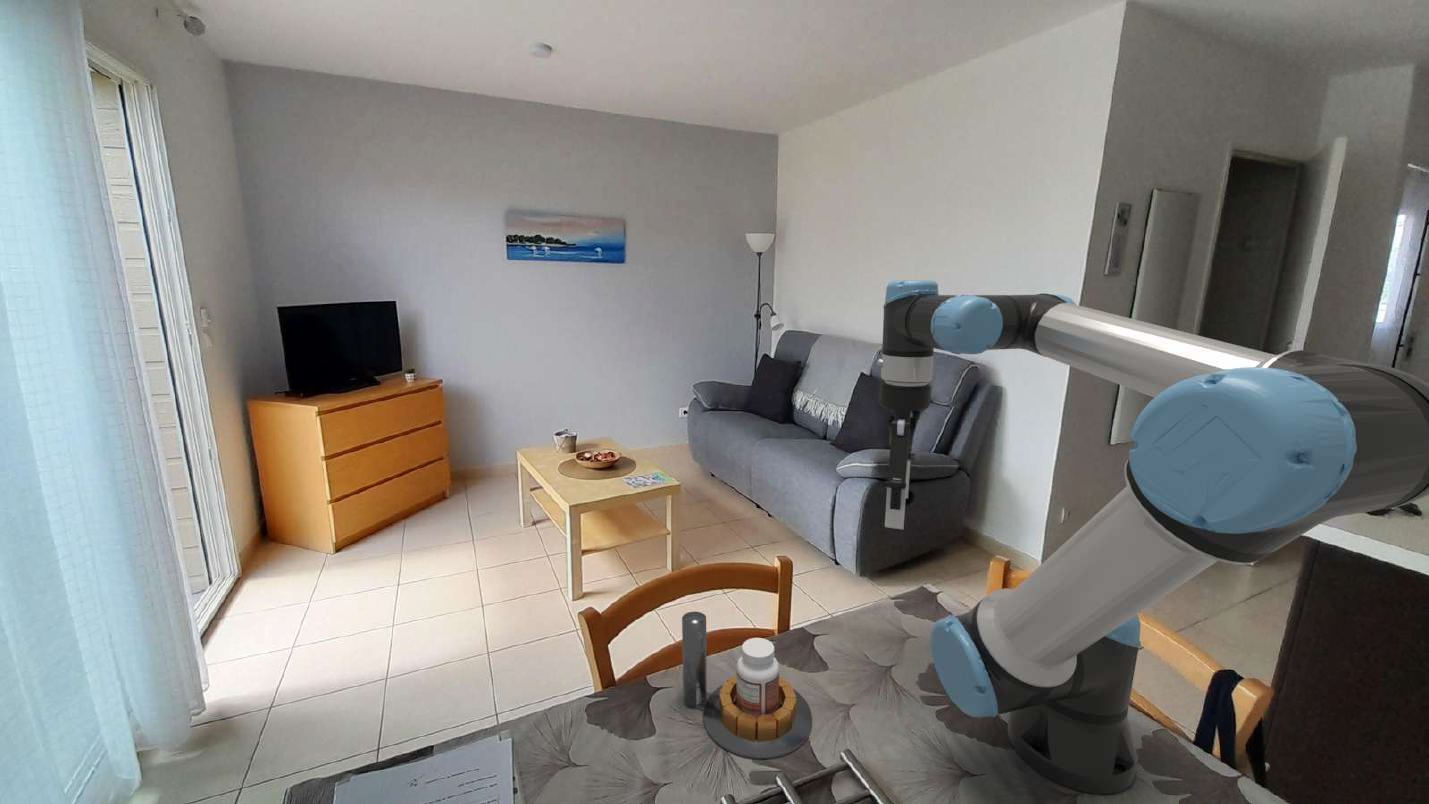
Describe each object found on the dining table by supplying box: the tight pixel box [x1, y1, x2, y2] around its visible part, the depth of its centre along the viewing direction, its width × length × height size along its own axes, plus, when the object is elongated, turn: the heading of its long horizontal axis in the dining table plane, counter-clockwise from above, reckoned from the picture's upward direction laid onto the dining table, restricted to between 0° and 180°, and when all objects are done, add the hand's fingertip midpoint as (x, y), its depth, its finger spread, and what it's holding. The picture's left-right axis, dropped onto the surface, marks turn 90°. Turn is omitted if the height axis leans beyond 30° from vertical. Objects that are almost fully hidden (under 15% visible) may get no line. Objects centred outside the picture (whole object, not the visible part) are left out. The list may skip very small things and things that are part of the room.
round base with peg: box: [681, 611, 813, 760], centre depth 87 cm, size 20×16×14 cm
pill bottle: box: [736, 637, 780, 715], centre depth 86 cm, size 6×6×11 cm
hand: (897, 511), depth 96 cm, fingers open, 13 cm apart
